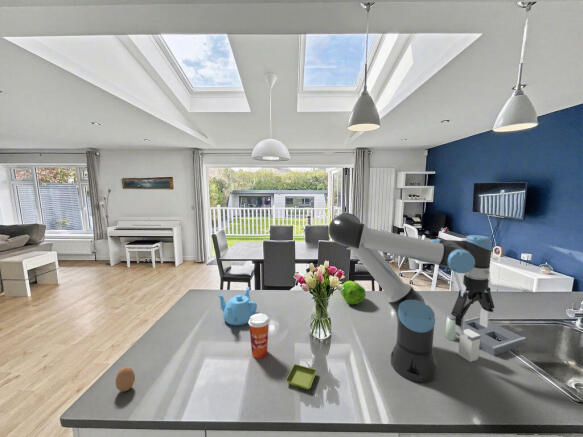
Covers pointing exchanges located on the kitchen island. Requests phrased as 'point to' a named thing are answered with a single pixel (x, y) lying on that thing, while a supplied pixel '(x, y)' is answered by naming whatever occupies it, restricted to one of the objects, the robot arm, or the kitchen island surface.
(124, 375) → the egg
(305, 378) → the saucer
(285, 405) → the kitchen island surface
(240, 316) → the teapot
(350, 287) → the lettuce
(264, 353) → the coffee cup
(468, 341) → the block
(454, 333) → the peg
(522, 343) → the grey socket board
